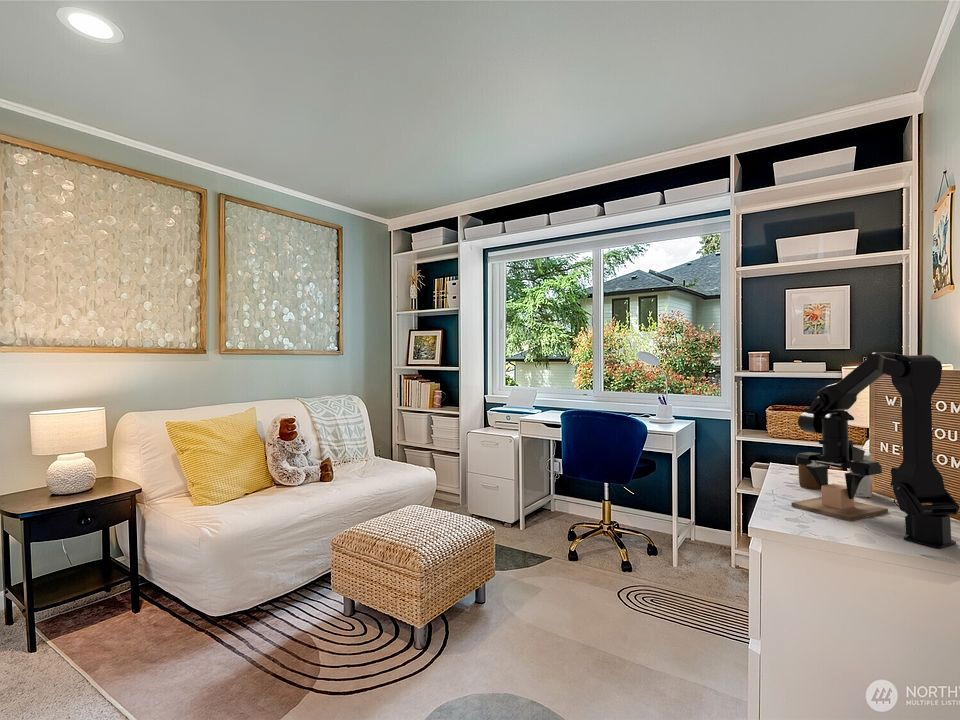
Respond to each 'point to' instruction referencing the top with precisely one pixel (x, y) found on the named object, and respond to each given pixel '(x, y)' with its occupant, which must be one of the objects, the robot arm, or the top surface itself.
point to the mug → (807, 478)
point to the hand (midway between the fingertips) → (837, 496)
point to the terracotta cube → (836, 496)
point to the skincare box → (865, 482)
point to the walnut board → (847, 514)
